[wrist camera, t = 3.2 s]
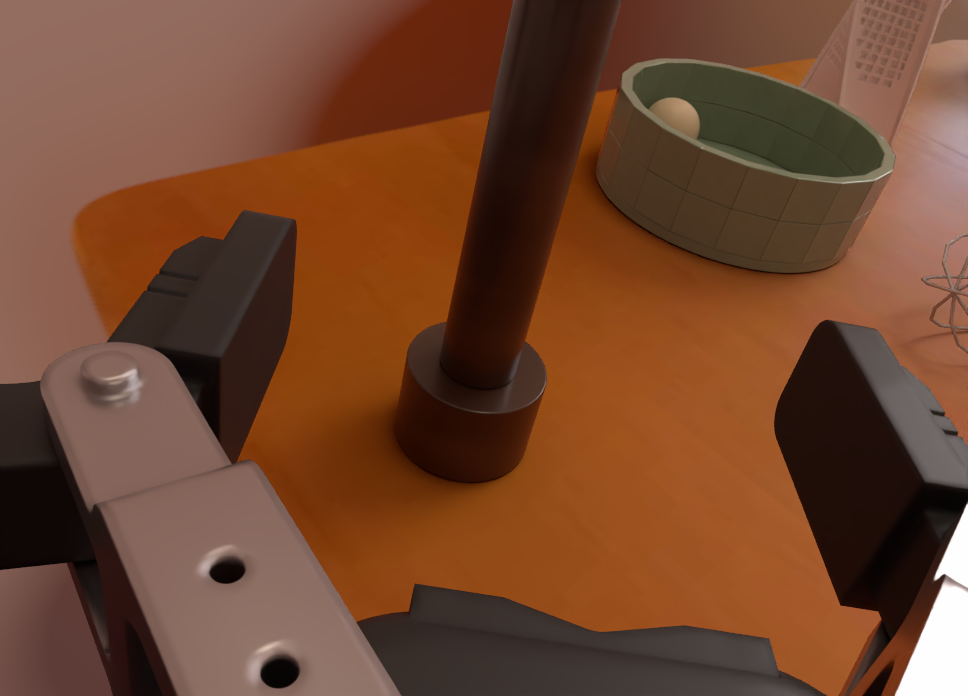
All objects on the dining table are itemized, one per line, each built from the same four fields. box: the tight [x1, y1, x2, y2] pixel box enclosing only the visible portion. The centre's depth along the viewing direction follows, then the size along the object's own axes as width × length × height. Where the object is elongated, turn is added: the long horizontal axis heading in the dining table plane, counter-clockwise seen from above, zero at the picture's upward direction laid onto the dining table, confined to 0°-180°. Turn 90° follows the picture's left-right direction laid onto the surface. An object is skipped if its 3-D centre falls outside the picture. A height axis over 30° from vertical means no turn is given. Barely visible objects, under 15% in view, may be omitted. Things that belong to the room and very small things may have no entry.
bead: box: [648, 98, 700, 140], centre depth 46 cm, size 3×3×3 cm
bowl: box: [596, 59, 896, 273], centre depth 44 cm, size 14×14×5 cm
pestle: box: [395, 0, 622, 482], centre depth 22 cm, size 4×4×18 cm
